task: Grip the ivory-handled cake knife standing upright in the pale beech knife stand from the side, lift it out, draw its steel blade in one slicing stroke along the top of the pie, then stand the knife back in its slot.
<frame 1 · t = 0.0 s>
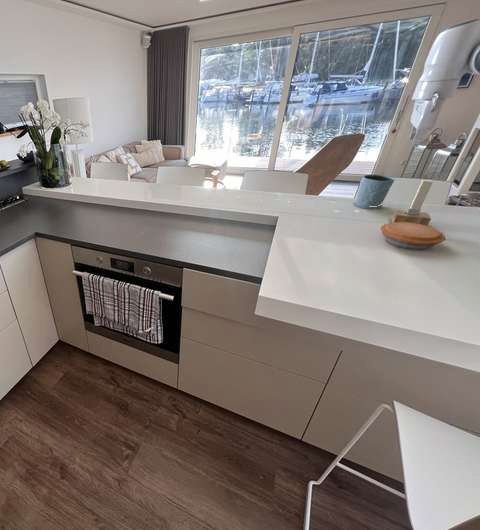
hand: (414, 141, 92), 29 cm above the countertop, tool pointing down, fingers open, 8 cm apart
knife: (417, 203, 101), in the knife stand
blue gray cup: (368, 205, 123), on the countertop
pie: (406, 242, 94), on the countertop
knife stand: (407, 224, 105), on the countertop
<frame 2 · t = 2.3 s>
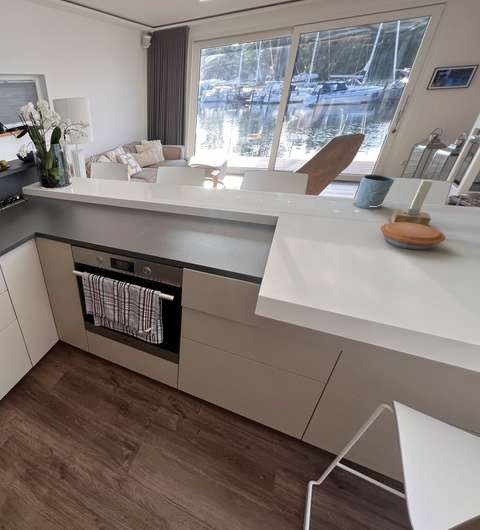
hand: (479, 146, 86), 27 cm above the countertop, tool horizontal, fingers open, 8 cm apart
nothing on the countertop moved.
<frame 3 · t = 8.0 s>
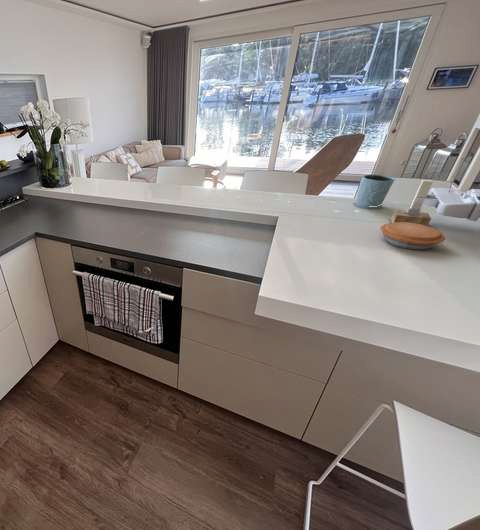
hand: (415, 198, 101), 10 cm above the countertop, tool horizontal, fingers closed on knife, 2 cm apart
knife: (417, 203, 101), in the knife stand, touching gripper
everything else where it was.
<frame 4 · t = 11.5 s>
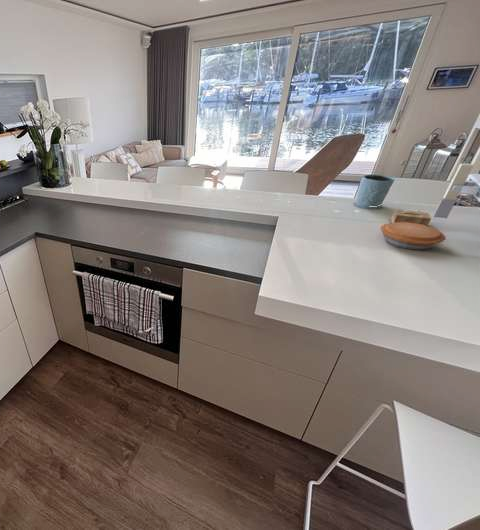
hand: (451, 186, 85), 18 cm above the countertop, tool horizontal, fingers closed on knife, 2 cm apart
knife: (452, 192, 85), point 16 cm above the countertop, touching gripper
everything else where it was.
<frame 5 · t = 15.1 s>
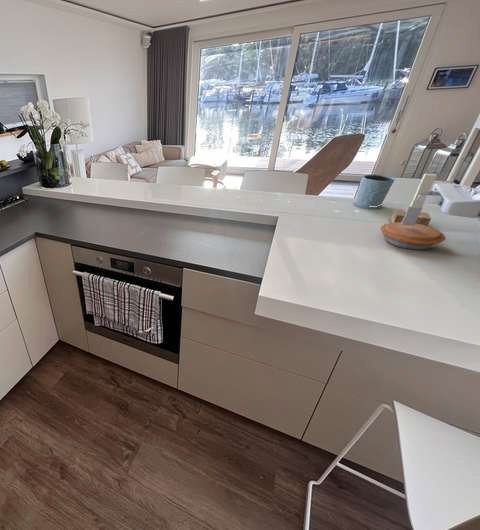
hand: (416, 195, 88), 15 cm above the countertop, tool horizontal, fingers closed on knife, 2 cm apart
knife: (418, 200, 88), point 14 cm above the countertop, touching gripper
everything else where it was.
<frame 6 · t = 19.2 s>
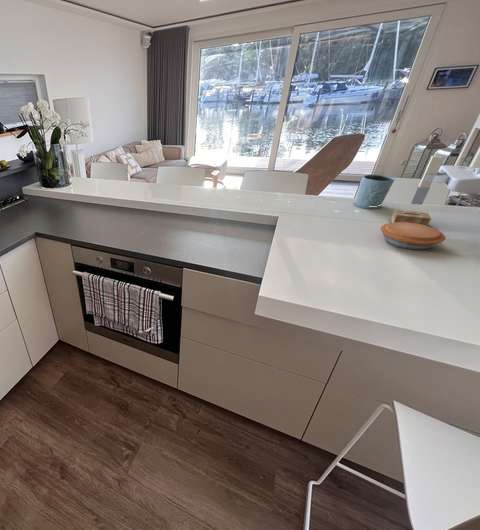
hand: (424, 176, 96), 18 cm above the countertop, tool horizontal, fingers closed on knife, 2 cm apart
knife: (426, 181, 96), point 16 cm above the countertop, touching gripper
everything else where it was.
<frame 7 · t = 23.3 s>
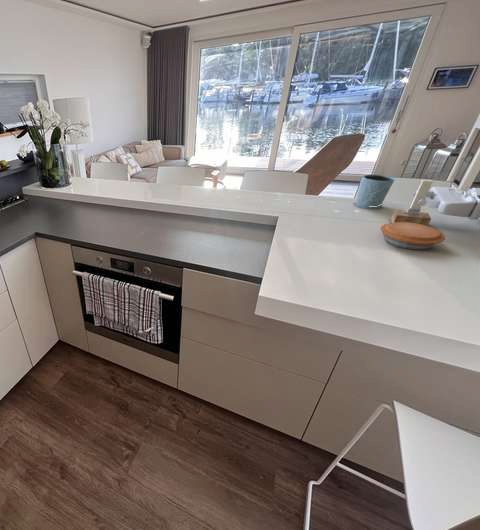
hand: (416, 197, 100), 10 cm above the countertop, tool horizontal, fingers open, 8 cm apart
knife: (417, 203, 101), in the knife stand
everything else where it was.
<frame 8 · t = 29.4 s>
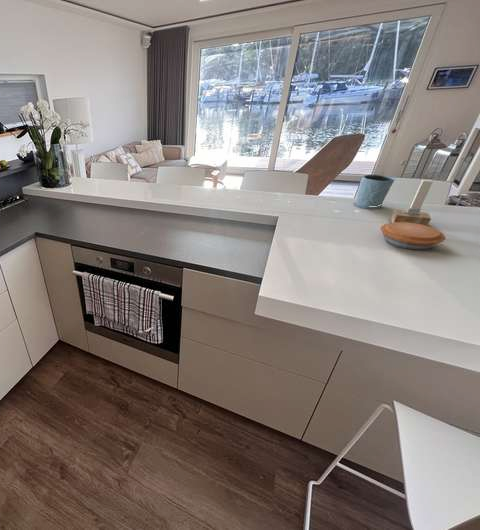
nothing on the countertop moved.
at the end: knife 0.1 cm off-centre on the knife stand, point 8.0 cm above the knife stand's base; knife tilted 0°; pie moved 0.2 cm from its start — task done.
